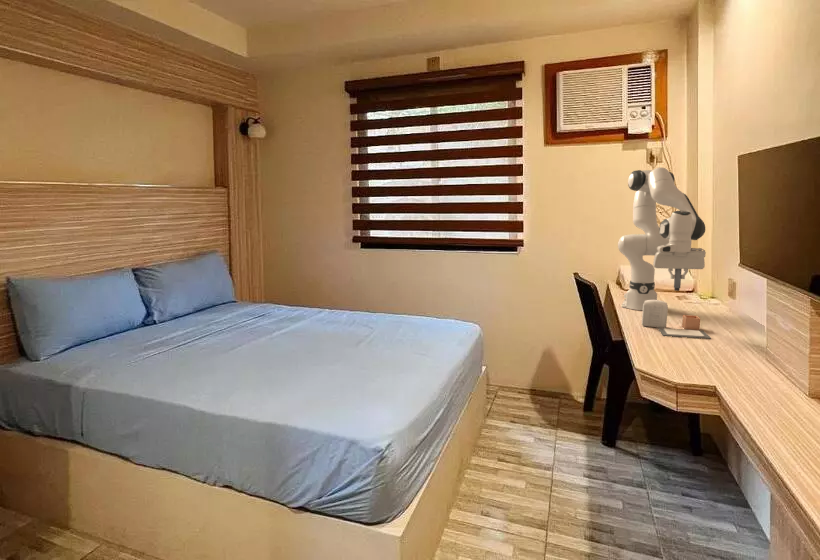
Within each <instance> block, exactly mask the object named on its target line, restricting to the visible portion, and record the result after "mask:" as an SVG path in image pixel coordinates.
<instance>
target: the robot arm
mask: <svg viewBox="0 0 820 560" xmlns="http://www.w3.org/2000/svg"><path fill="white" fill-rule="evenodd" d="M627 184H628V185H627V186H628V188H629V189H630V190H631V191H635V193H634V197H633V204H632V223H633V225H634V226H635V227H636V228H638V229H640V230H642V231H643V232H644V233H641V234H640V233H638V234H637V233H631V234H625V235H622V236H620V238H619V239H618V242H617V250H618V251H619V253H621V254H622V255H623V256H624V257H626V259H627V261H628V262H629V264H630V281H629V289H628V290H627V291H626V292H625V293H624V296H623V298H624V300H623V301H622V304H621V308H626V309H630V310H636V311H643V304H644V302H645V301H646V300H658V292H657V291H656V290H655V286H656V284H655V274H656V273H655V270H656V269H665V270H666V269H667V271H668V273H669V274H670V279H672V280H674V279H675V274H673V271H674V270H675V269H682V270H683V273H682V274H681V280H685V279H686V275H687V274H688V273H689V270H704V269H705V264H706V263H705V257H706V253H707V252H706V250H705V249H704V248H703V247H702V248H700V247H698V248H696V247H692V241H698V240H699V239H701V238H702V237H703V236H704V234H705V232H706V224H705V221H704V220H702V218H701V217H700V216H699V213H698V212H697V211H696V209H695V207H694V205H693V203H692V201H691V200H690V199H689V197H688V195H687V194H686V193H684V192H682V191H681V190H680V189H679V188H678V187H677V185H676V184H675V175H674V174H673V173H672V172H671V171H669V169H667V168H666V167H655V168H654V169H651V170H647V169H646V170H645V169H644V170H643V169H642V170H641V169H639V170H638V169H637V170H633V171H632V172H630V174H629V176H628V178H627ZM657 204H658V205H661V206H667V207H671V208H674V209H677V210H675V211H672V213H671V214H670V215H671V216H669V217H668V218H665V219H663V220H661V222H660V224H658V220H657ZM644 256H654V258H653V264H651V263H650V262H648V261H645V260H644Z"/></svg>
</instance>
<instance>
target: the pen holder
mask: <svg viewBox="0 0 820 560" xmlns="http://www.w3.org/2000/svg"><path fill="white" fill-rule="evenodd" d="M681 327H682V329H683V328H684V329H687V330H701V318H700V317H699V316H698V315H694V314H693V315H690V314H683V315H682V322H681Z"/></svg>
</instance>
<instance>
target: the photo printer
mask: <svg viewBox="0 0 820 560" xmlns="http://www.w3.org/2000/svg"><path fill="white" fill-rule="evenodd" d="M668 310H669V307H668V303H667V302H666V301H663V300H659V299H657V300H646V301H645V302H644V304H643V310H642V315H641V317H642V318H641V326H642V325H643V326H644V327H650V326H651V328H652V327H653V328H667V325H668V324H667V323H668Z"/></svg>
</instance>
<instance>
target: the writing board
mask: <svg viewBox="0 0 820 560" xmlns="http://www.w3.org/2000/svg"><path fill="white" fill-rule="evenodd" d="M658 329H659V330H658ZM657 330H658V332H659V333H660V332H661V333H660V334H661V335H662V337H665V336H672V337H671V338H682V337H687V339H699V338H700V339H701V338H702V340H703V339H704V340H711V339H712V337H711V336H710V335H709V334H708V333H706V331H704V330H703V329H700V330H687V329H683V328H669V327H666V328H659V327H657Z"/></svg>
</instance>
